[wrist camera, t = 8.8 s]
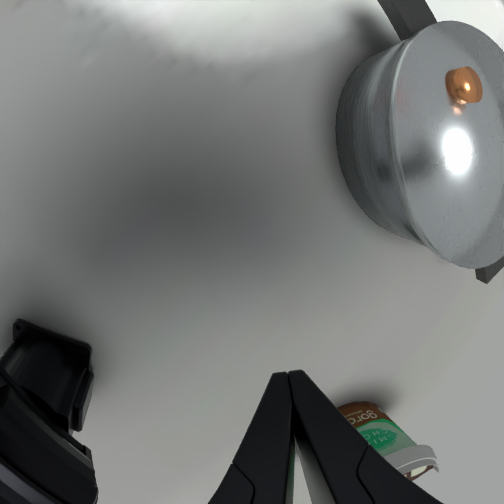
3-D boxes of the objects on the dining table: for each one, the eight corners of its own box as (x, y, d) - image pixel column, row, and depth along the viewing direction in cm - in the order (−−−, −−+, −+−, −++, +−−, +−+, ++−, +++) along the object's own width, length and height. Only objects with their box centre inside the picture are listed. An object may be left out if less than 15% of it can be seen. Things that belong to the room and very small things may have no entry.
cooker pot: (392, 301, 24) (438, 334, 19) (274, 45, 17) (307, 8, 12) (495, 214, 25) (540, 227, 19) (420, 6, 18) (466, -15, 12)
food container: (391, 370, 27) (453, 436, 17) (393, 408, 29) (444, 469, 19) (271, 427, 26) (305, 516, 16) (287, 459, 27) (319, 535, 18)
